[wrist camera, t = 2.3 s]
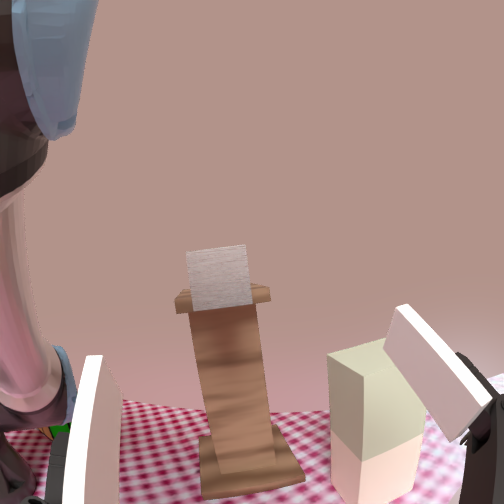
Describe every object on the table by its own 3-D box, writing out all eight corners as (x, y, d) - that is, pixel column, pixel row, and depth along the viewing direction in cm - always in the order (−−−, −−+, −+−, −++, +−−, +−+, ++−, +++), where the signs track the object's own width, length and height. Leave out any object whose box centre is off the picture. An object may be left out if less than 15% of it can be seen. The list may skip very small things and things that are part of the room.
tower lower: (411, 490, 23) (423, 432, 23) (356, 516, 21) (361, 462, 22) (381, 462, 31) (386, 408, 31) (330, 482, 29) (330, 428, 30)
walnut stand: (305, 481, 31) (287, 284, 32) (203, 500, 28) (155, 301, 29) (277, 430, 46) (258, 280, 47) (200, 443, 44) (170, 291, 45)
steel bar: (252, 303, 20) (245, 244, 20) (193, 311, 19) (185, 251, 19) (232, 283, 48) (229, 258, 48) (208, 286, 47) (205, 261, 47)
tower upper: (423, 432, 23) (430, 351, 24) (361, 462, 22) (363, 376, 22) (386, 408, 31) (386, 337, 31) (330, 428, 30) (326, 354, 30)
